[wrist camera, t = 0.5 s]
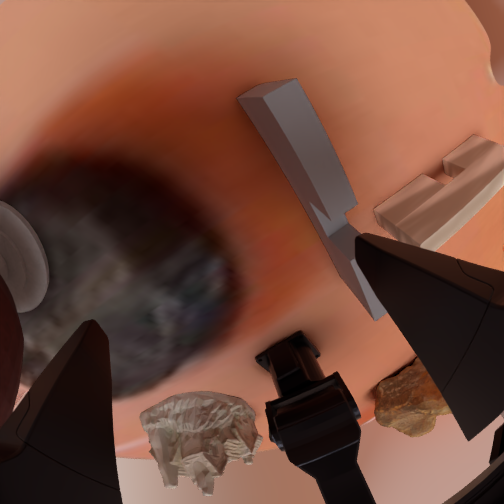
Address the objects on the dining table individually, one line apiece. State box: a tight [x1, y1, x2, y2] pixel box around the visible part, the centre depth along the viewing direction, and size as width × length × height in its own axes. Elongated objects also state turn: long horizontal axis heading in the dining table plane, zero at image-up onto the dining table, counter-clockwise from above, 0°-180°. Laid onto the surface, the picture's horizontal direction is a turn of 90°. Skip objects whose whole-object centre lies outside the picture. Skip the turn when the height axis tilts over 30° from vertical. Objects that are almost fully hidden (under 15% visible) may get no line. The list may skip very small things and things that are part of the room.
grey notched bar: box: [236, 78, 387, 321], centre depth 20 cm, size 20×2×7 cm, turn 31°
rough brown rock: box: [374, 357, 452, 437], centre depth 43 cm, size 23×17×15 cm
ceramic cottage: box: [140, 391, 263, 496], centre depth 32 cm, size 16×16×15 cm
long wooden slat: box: [373, 135, 504, 252], centre depth 22 cm, size 2×18×7 cm, turn 121°
